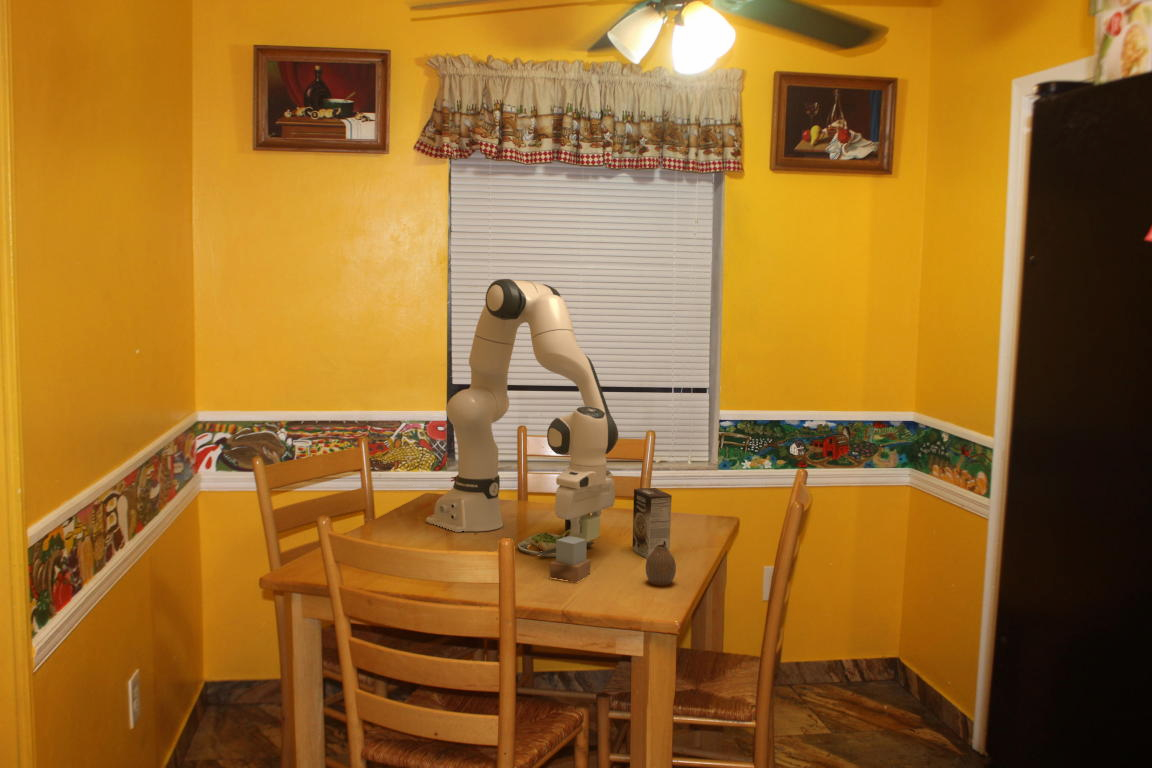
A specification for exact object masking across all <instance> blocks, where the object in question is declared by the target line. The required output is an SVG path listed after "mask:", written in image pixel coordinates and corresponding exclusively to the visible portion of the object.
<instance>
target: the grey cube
mask: <svg viewBox="0 0 1152 768" xmlns="http://www.w3.org/2000/svg"><path fill="white" fill-rule="evenodd" d="M586 546H587V540H586V539H582V538H577V537H573V536H567V537H564V538H561V539H558V540H556V557H555V560H556V561H557V562H561V563H565V564H569V565H576V564H578V563H581V562H584V561H586V559H587V548H586Z"/></svg>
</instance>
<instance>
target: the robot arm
mask: <svg viewBox="0 0 1152 768" xmlns="http://www.w3.org/2000/svg"><path fill="white" fill-rule="evenodd" d="M484 302H485V304H484V306H483V308H482V311H481V313H480V315H479V319H478V321H477V324H476V327H475V328H476V329H475V333H474V336H473V341H472V345H471V349H470V353H469V358H468V365H469V367H470V377H471V378H470V379H471V380H470V385H469V388H466V389H465V388H464V389H462V390H460V391H458V392H456V393H455V394H454V395H453V396H452V397H450V399H449V400H448V402H447V405H446V416H447V420H449V422H450V423H451V425H452V426H453V430H454V433H455V438H456V444H457V452H458V453H457V455H458V456H457V457H458V458H457V461H458V462H457V465H458V466H457V467H458V468H457V469H458V470H457V475H456V476H451V477H450V479H451V480H450V482H454V483H453V486H452V488H450V489H449V490H448V491H447V492H446V493H444V494H443V495H442V496H440V497H439V498H438V499H437V500H436V502H435V505H434V514H432V515H428V516H427V517H426V519H425V522H426V523H427V522H428V524H431V525H433V524H434V525H433V526H436V525H437V526H436V527H439V526H440V527H439V528H442V527H443V528H442V529H445V528H446V530H448V529H449V530H448V531H451V530H452V531H451V532H454V531H455V532H454V533H461V532H462V531H464V532H486V531H487V532H488V531H493V530H498V529H501V528H502V527H503V526H504V522H503V518H502V512H501V507H500V506H501V505H500V497H499V493H500V484H501V483H500V481H501V480H500V474H499V447H498V444H497V443H496V441H495V439H494V434H493V430H492V424H493V423H496V422H497V421H499V420H501V419H502V418H503V417H504V416H505V415H506V414H507V412H508V410H509V408H510V399H509V395H508V377H509V376H508V375H509V368H510V363H511V359H512V355H513V354H512V353H513V351H514V346H515V341H516V337H517V332H518V329H519V327H520V326H521V325H522V324H524V323H527V324H528V326H529V331H530V339H531V345H532V351H533V354H534V357H535V359H536V361H537V362H538V363H539V365H540V366H542V368H544V369H546V370H547V371H548V372H551V373H554V374H557V375H560V376H562V377H564V378H566V379H568V380H570V381H571V382H572V383H573V384H574V385H576V387H577V389H578V390H579V392H580V397H581V398H582V402H583V404H584V406H580V407H577V408H575V410H574V411H573V413H570V414H567V415H565V416H560V417H556V418H554V419H553V420H552V421H551V423H549V426H548V429H547V433H546V438H547V439H546V441H547V445H548V446H549V448H550V449H551V450H552V451H553V453H555V454H556V455H561V456H570V461H569V466H570V467H569V466H568V467H567V468H566V469H565V470H563V471H562V472H561V473H560V474H558V475H557V476H556V479H555V483H556V485H557V486H558V487H557V488H556V491H555V505H554V511H555V515H556V516H557V518H558V519H562V520H565V519H566V520H569V519H570V521H571V524H572V526H573V529H572V532H573V533H575V534H579V533H581V532H582V526H580V524H579V520H580V516H582V515H586V514H589V513H590V514H591V515H592V516H596V517H600V518H601V514H602V510H606V509H608V508H612V507H613V506H614V504H615V502H616V489H615V487H616V486H615V481H614V479H613V477H614V476H613V473H612V472H611V471H610V469H607V459H606V458H607V457H606V456H607V454H609V453H610V452H611V451H612V450H613V449H614V448H615V446H616V444H617V442H618V440H619V429H618V426H617V424H616V423H615V420H614V418H613V416H612V414H611V412H610V409H609V408H608V404H607V401H606V398H605V396H604V392H603V390H602V387H601V383H600V380H599V377H598V375H597V372H596V370H595V366H594V365H593V362H592V361H591V359H590V357H589V356H587V355H586V354H584V352H583V350H582V349H581V348H580V346H579V344H578V341H577V339H576V335H575V330H574V326H573V322H572V318H571V314H570V312H569V310H568V306H567V304H566V301H565V300H564V299H563V298H562V297H561V294H560V292H559V291H558V290H557V289H555V288H554V287H553V286H551V285H548V284H544V283H543V284H541V283H539V282H535V281H531V280H516V279H515V280H514V279H511V278H501V279H496V280H494V281H492V282H491V283H490V285H489V286H488V288H487V290H486V294H485V301H484Z"/></svg>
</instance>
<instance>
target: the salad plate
mask: <svg viewBox="0 0 1152 768" xmlns="http://www.w3.org/2000/svg"><path fill="white" fill-rule="evenodd" d="M570 531H571V529H569V530H567V531H565V530H564V531H563V533H562V534H561V535H559V534H553V533H548V532H543V533H542V532H541V533H537V534H533V535H531V536H529V537H527V538H526V539H524V540H523V541H520V542H519V543H518V544H517V548H518V549H519V550H520V551H521V552H522V553H524V552H525V554H526V553H528V554H527V555H529V554H533V555H532V556H536V555H540V556H539V557H542V556H545V557H544V558H556V540H558V539H561V538H564V537H567V536H570ZM593 544H595V541H593V540H590V541H587V546H586V549H587V548H589V547H590V546H592V545H593ZM528 545H531V546H534V547H536V546H537V548H539V549H540V550H541V551H542V552H541V551H536V550H530V549H529V548H527V547H528ZM528 549H529V550H528Z"/></svg>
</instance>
